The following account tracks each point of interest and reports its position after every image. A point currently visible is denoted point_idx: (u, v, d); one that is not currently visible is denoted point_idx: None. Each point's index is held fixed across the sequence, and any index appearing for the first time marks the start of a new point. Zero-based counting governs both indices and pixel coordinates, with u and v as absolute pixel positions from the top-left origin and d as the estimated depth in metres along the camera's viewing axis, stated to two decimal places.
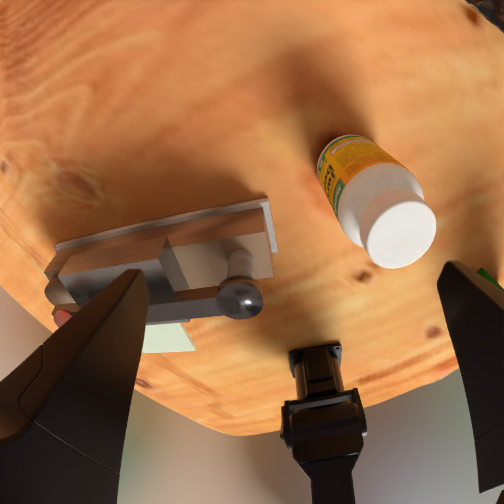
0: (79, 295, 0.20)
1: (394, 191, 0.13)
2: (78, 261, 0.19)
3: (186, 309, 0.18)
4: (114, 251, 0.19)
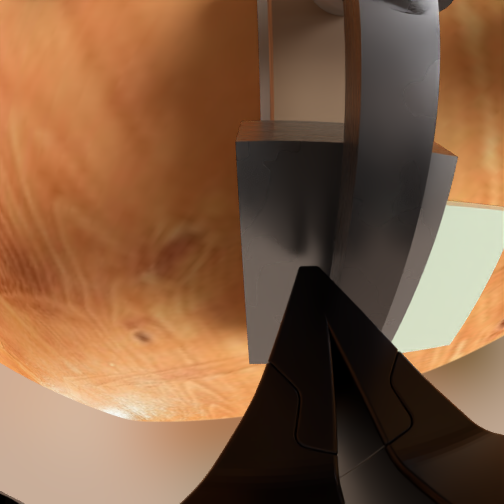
0: None
1: None
2: None
3: (397, 111, 0.04)
4: None
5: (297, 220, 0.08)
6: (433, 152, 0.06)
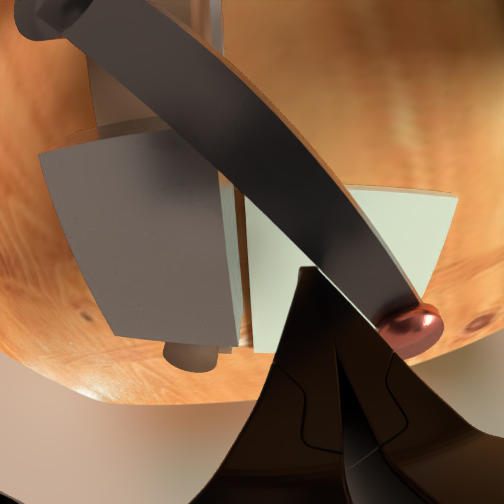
0: (148, 327, 0.12)
1: None
2: None
3: (144, 57, 0.04)
4: None
5: (86, 207, 0.08)
6: None
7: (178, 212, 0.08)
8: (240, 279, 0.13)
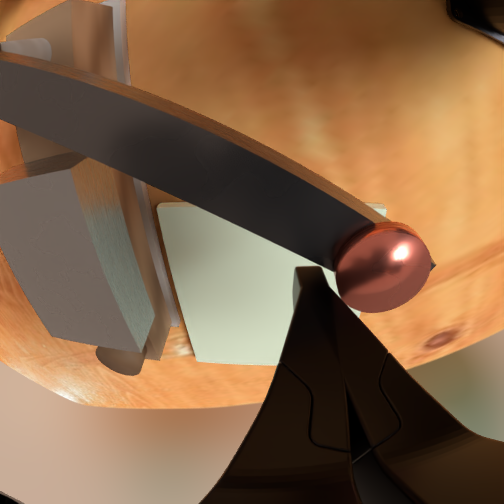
0: (71, 330, 0.12)
1: None
2: None
3: (12, 96, 0.04)
4: None
5: (11, 231, 0.09)
6: (53, 171, 0.08)
7: (64, 237, 0.09)
8: (145, 292, 0.14)
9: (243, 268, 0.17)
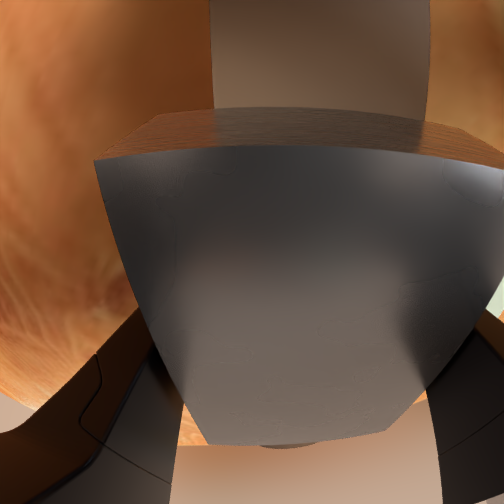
0: (275, 437, 0.07)
1: None
2: None
3: None
4: None
5: (245, 307, 0.04)
6: None
7: (442, 308, 0.04)
8: None
9: None
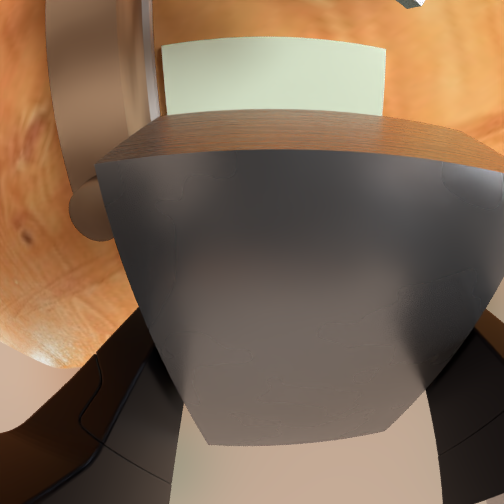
0: (275, 437, 0.07)
1: None
2: None
3: None
4: None
5: (244, 309, 0.04)
6: None
7: (440, 310, 0.04)
8: None
9: (248, 106, 0.14)
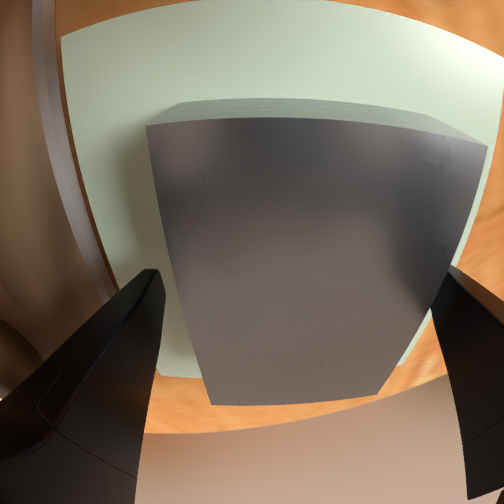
0: (273, 393, 0.09)
1: None
2: None
3: None
4: None
5: (249, 241, 0.05)
6: (456, 137, 0.04)
7: (410, 253, 0.05)
8: None
9: None
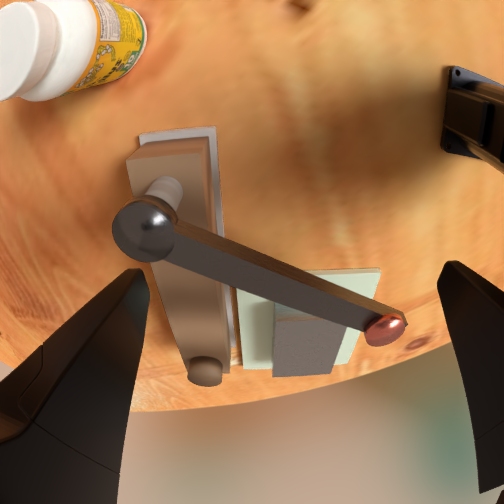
0: (294, 371, 0.27)
1: None
2: None
3: (215, 266, 0.12)
4: (273, 335, 0.26)
5: (293, 337, 0.24)
6: None
7: (329, 337, 0.24)
8: None
9: None
